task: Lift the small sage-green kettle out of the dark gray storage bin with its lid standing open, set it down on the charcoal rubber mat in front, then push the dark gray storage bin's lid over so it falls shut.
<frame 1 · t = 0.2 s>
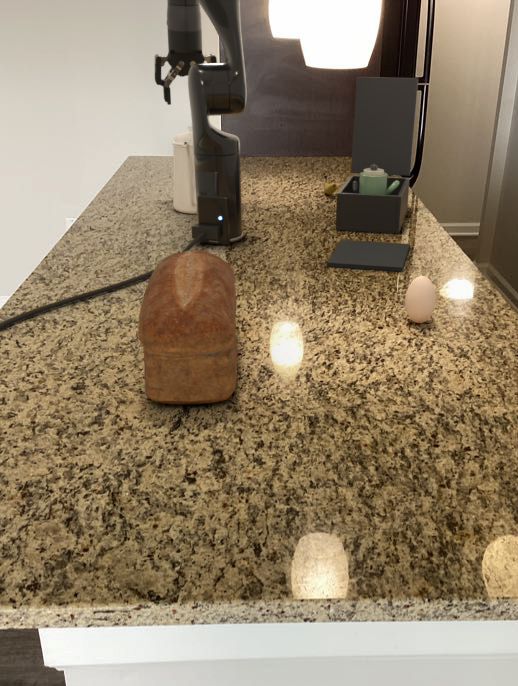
hand: (187, 103, 183), 22 cm above the counter, tool pointing down, fingers open, 8 cm apart
banana: (329, 196, 199), on the counter
storage bin lid: (383, 126, 178), point 18 cm above the counter, hinge at 100.8°
bread: (194, 363, 108), on the counter
dark gray storage bin: (372, 220, 177), on the counter
mat: (369, 256, 152), on the counter
egg: (418, 323, 122), on the counter
kettle: (371, 220, 174), point 1 cm above the counter, touching dark gray storage bin
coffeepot: (196, 210, 186), on the counter
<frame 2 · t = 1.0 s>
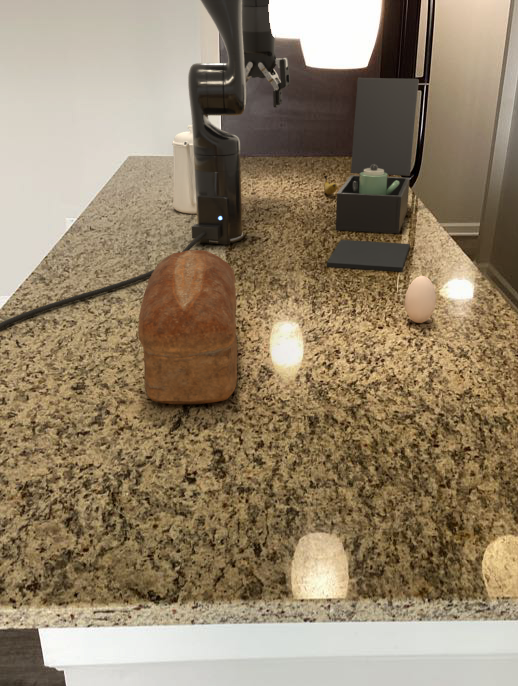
hand: (260, 105, 183), 22 cm above the counter, tool pointing down, fingers open, 8 cm apart
storage bin lid: (384, 127, 179), point 18 cm above the counter, hinge at 105.1°
everything else where it was.
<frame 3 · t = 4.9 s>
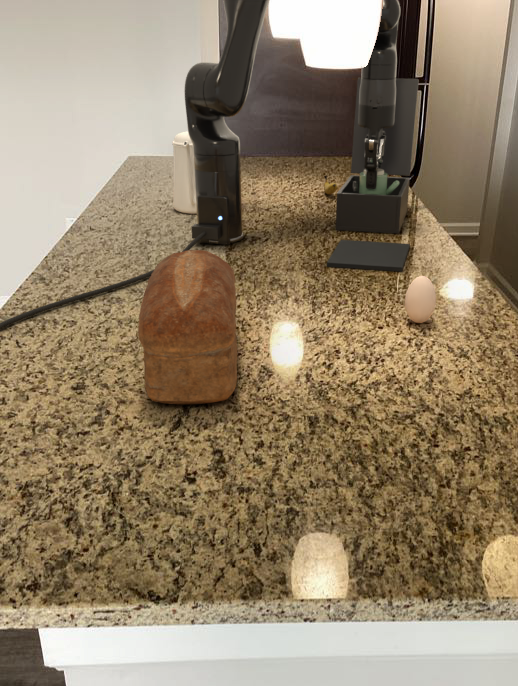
hand: (373, 185, 170), 8 cm above the counter, tool pointing down, fingers closed on kettle, 6 cm apart
kettle: (371, 220, 174), point 1 cm above the counter, touching dark gray storage bin, gripper
everything else where it was.
when the fingers open (8 cm above the counter, at t = 12.0 s): kettle stays where it is, resting on mat.
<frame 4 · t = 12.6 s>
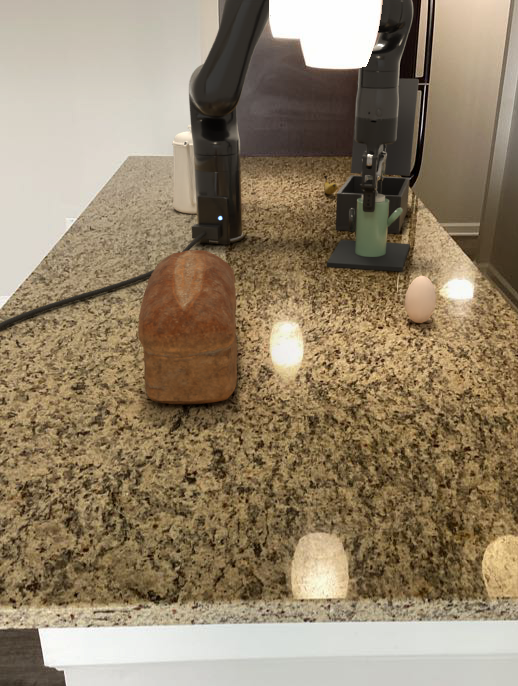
hand: (371, 206, 148), 10 cm above the counter, tool pointing down, fingers open, 8 cm apart
kettle: (370, 252, 152), point 1 cm above the counter, touching mat
everything else where it was.
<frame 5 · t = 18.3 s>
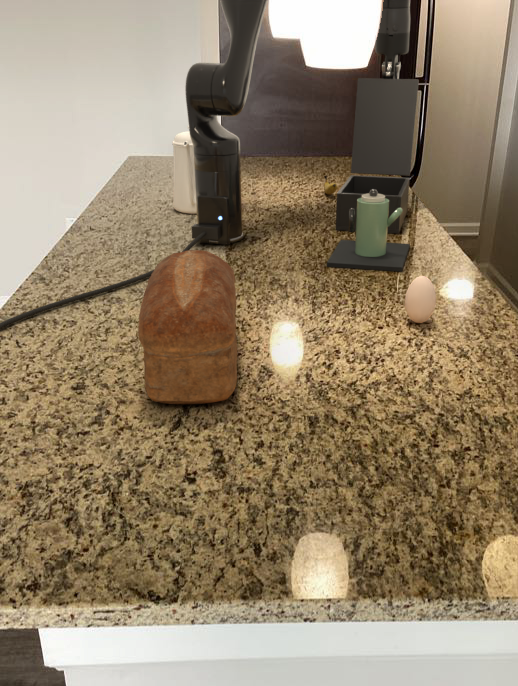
hand: (389, 112, 186), 20 cm above the counter, tool pointing down, fingers closed
storage bin lid: (384, 127, 179), point 18 cm above the counter, hinge at 105.9°, touching hand
everything else where it was.
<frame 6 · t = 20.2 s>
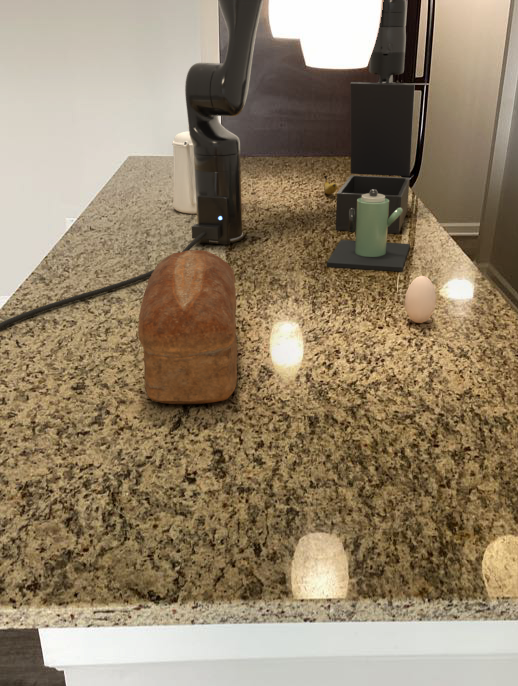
hand: (382, 134, 179), 17 cm above the counter, tool pointing down, fingers closed
storage bin lid: (381, 130, 174), point 18 cm above the counter, hinge at 74.8°
everything else where it was.
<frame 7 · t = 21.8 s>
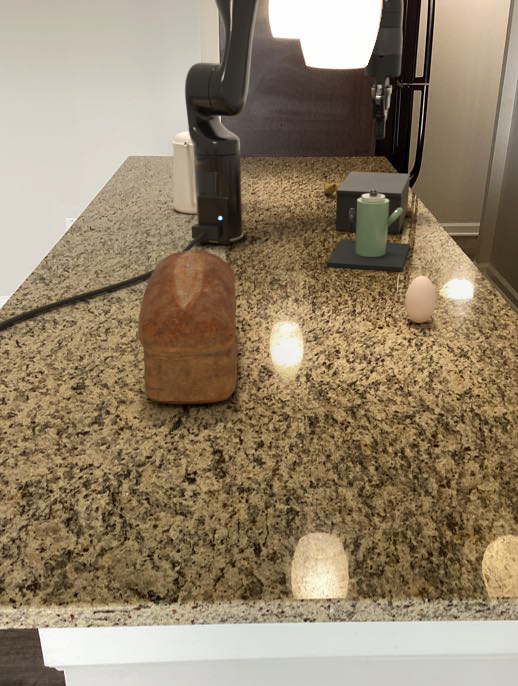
hand: (379, 138, 172), 17 cm above the counter, tool pointing down, fingers closed
storage bin lid: (374, 183, 172), point 8 cm above the counter, hinge at -0.1°
everything else where it was.
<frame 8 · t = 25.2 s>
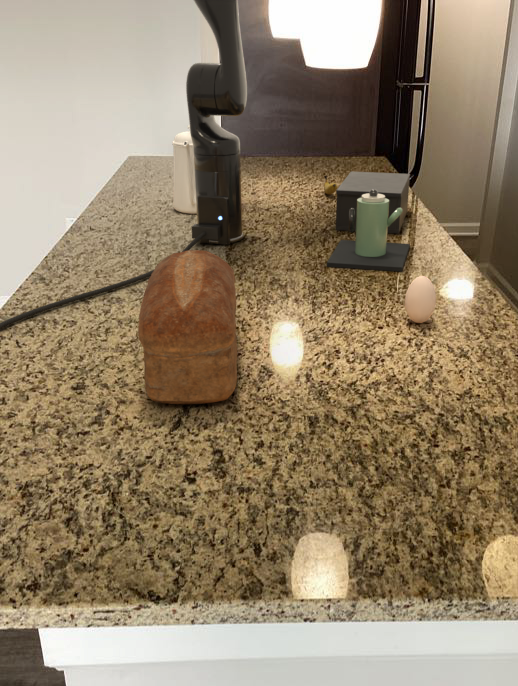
hand: (336, 48, 160), 35 cm above the counter, tool pointing down, fingers closed
nothing on the counter moved.
at the end: kettle inside the target area on the mat (0.2 cm from its centre), point 0.8 cm above the mat's base; kettle tilted 0°; storage bin lid at +0° (first picture: +100°) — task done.
